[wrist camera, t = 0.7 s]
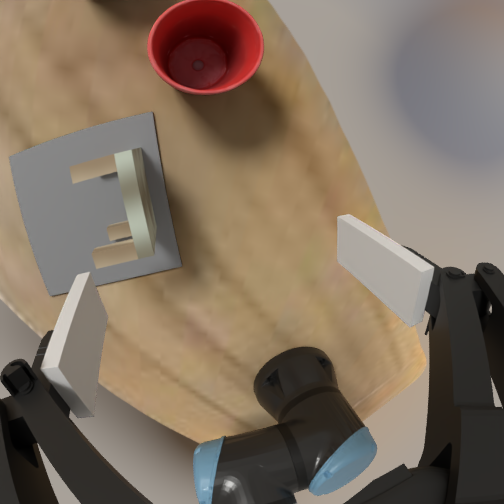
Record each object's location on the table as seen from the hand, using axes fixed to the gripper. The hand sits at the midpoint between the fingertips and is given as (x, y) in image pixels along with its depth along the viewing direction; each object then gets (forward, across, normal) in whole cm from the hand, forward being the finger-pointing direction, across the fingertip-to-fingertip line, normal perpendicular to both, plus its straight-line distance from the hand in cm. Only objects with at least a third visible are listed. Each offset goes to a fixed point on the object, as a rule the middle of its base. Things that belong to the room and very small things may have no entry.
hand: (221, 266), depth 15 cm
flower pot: (+25, -3, -14) cm, 29 cm away
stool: (+24, +8, 0) cm, 25 cm away
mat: (+24, +13, +1) cm, 27 cm away
